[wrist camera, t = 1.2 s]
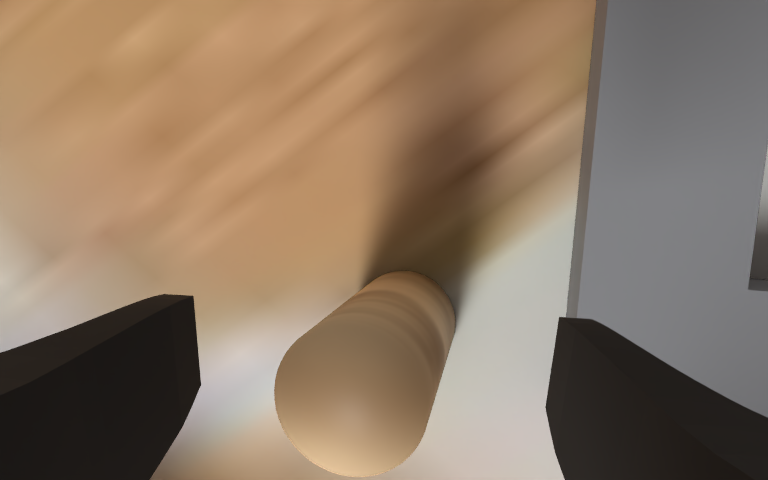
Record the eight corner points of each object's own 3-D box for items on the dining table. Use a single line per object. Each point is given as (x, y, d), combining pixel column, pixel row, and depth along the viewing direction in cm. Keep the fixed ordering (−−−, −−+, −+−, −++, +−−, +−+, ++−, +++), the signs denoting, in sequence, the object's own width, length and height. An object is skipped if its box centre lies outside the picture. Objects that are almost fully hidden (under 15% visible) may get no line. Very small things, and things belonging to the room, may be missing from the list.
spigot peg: (451, 376, 21) (423, 489, 14) (352, 364, 22) (271, 463, 14) (459, 275, 21) (434, 331, 13) (357, 266, 22) (276, 314, 14)
